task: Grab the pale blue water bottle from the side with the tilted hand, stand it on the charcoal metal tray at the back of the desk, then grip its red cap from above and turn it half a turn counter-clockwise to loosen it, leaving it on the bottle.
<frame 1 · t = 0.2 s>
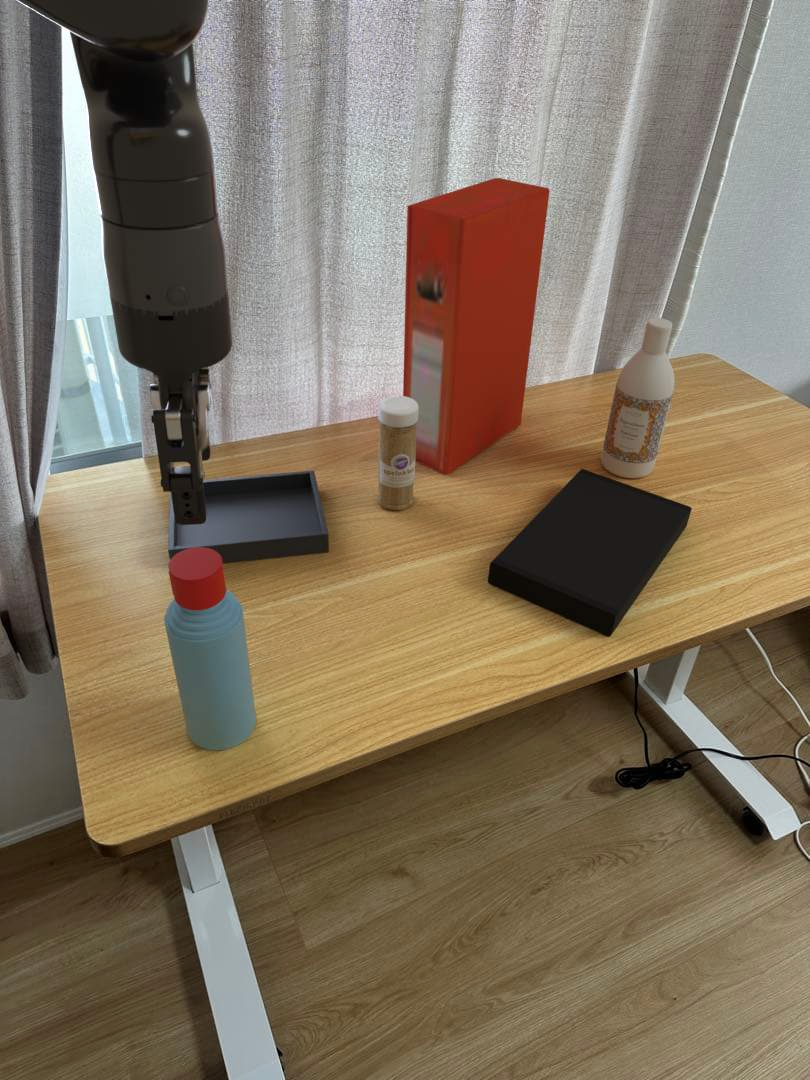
hand: (194, 488, 62), 21 cm above the table, tool pointing down, fingers open, 8 cm apart
file binder: (461, 441, 111), on the table
external hard drive: (591, 555, 92), on the table
bath foam: (626, 467, 107), on the table
cap: (195, 566, 60), point 18 cm above the table, screwed on, not yet turned
sprinkles bottle: (395, 502, 99), on the table
tray: (248, 525, 94), on the table
bottle: (221, 723, 71), on the table
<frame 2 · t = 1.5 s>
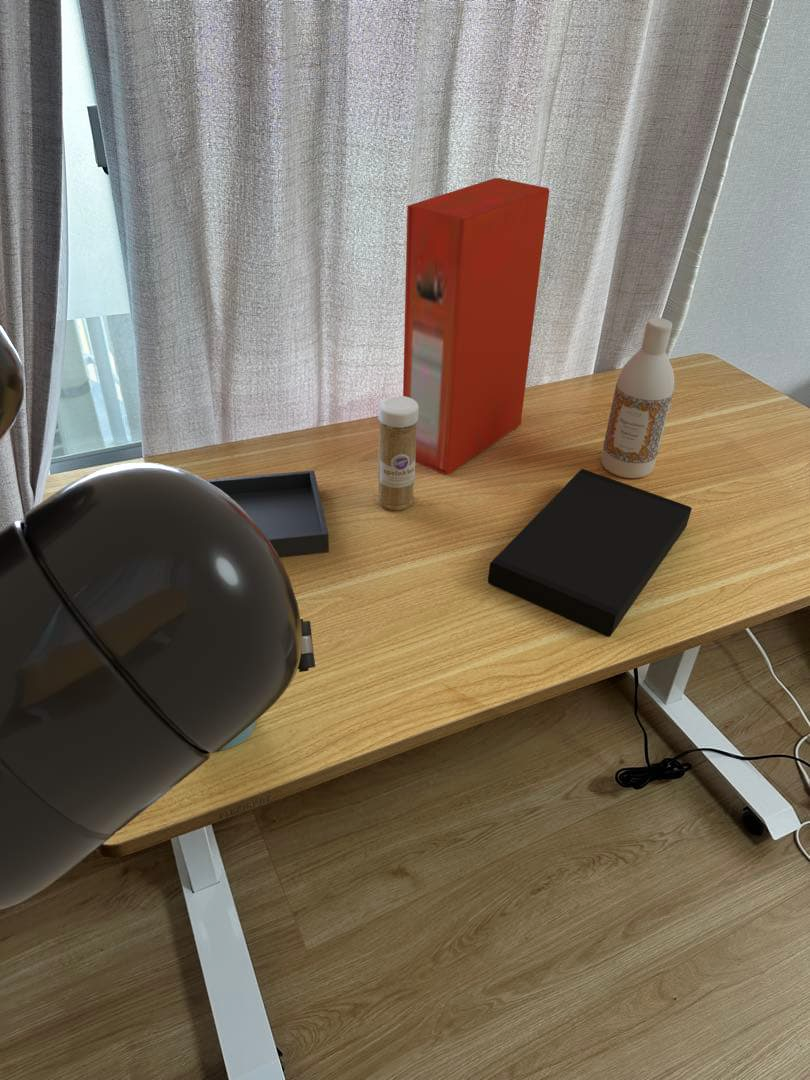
hand: (194, 659, 50), 20 cm above the table, tool tilted 45°, fingers open, 8 cm apart
nothing on the table moved.
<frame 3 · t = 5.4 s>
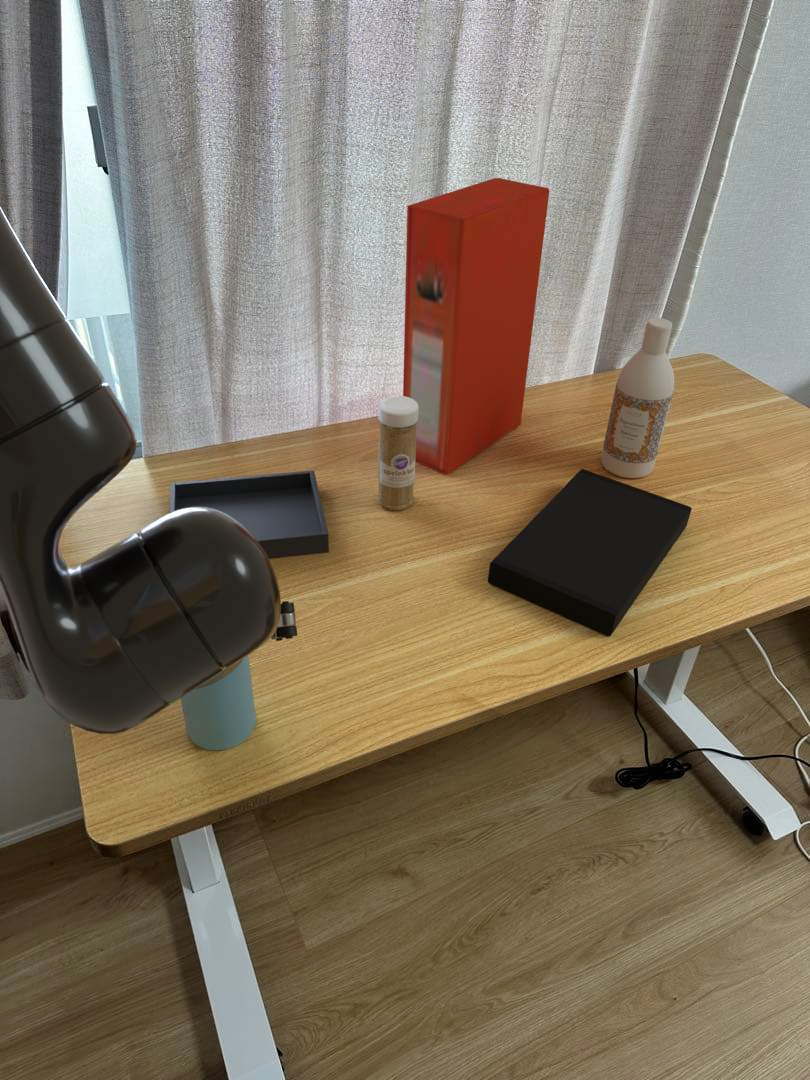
hand: (208, 633, 67), 9 cm above the table, tool tilted 45°, fingers closed on bottle, 6 cm apart
bottle: (221, 723, 71), on the table, touching gripper
everything else where it was.
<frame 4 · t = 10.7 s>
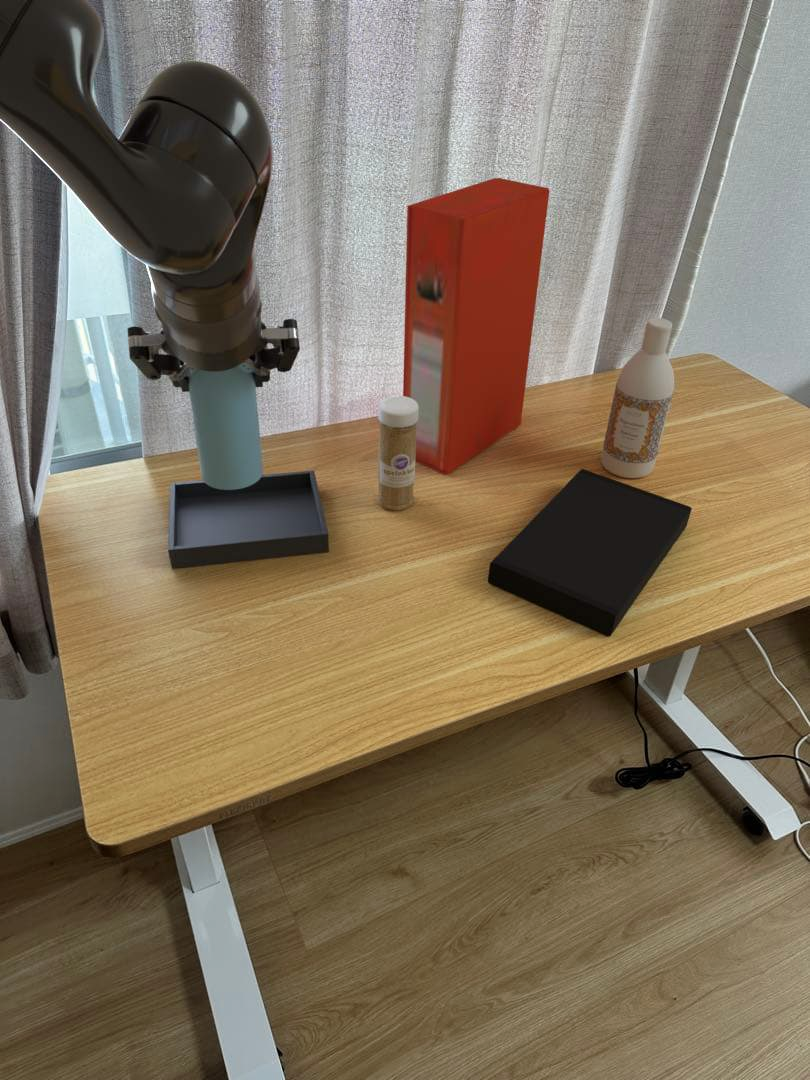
hand: (221, 379, 75), 22 cm above the table, tool tilted 45°, fingers closed on bottle, 6 cm apart
cap: (212, 296, 69), point 31 cm above the table, screwed on, not yet turned
bottle: (232, 473, 80), point 13 cm above the table, touching gripper
everything else where it was.
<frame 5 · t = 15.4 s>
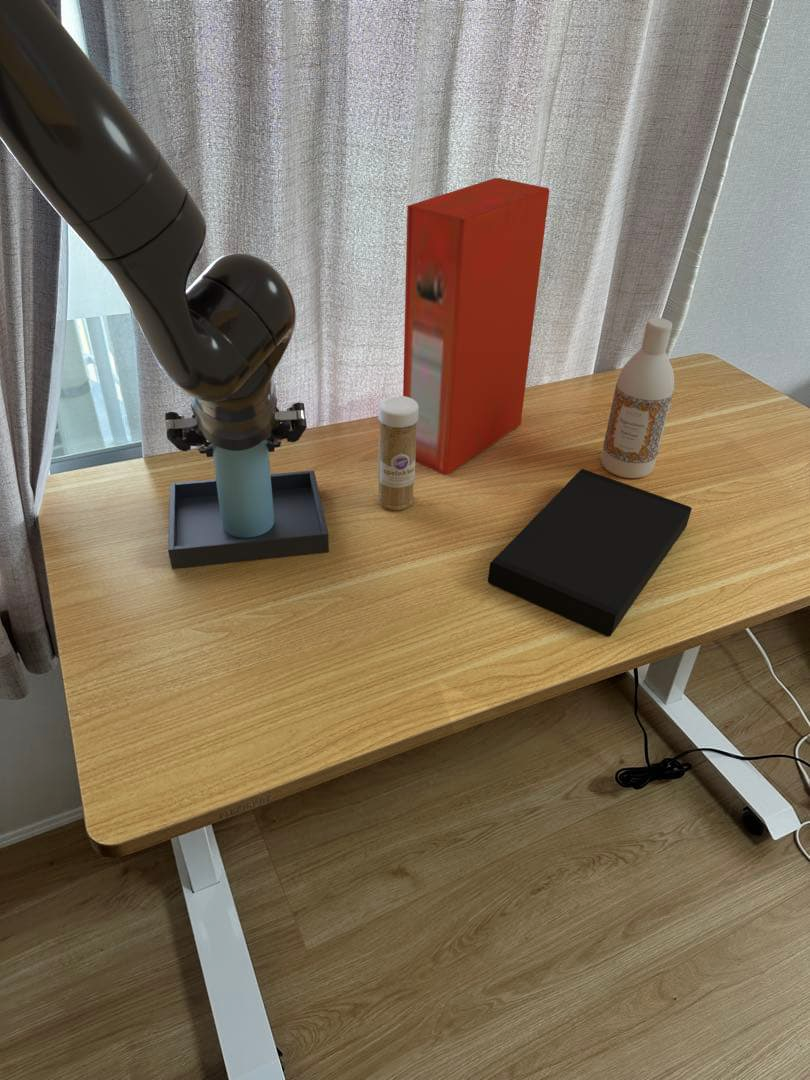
hand: (239, 445, 89), 10 cm above the table, tool tilted 45°, fingers closed on bottle, 6 cm apart
cap: (233, 381, 83), point 19 cm above the table, screwed on, not yet turned
bottle: (248, 522, 94), point 1 cm above the table, touching gripper, tray
everything else where it was.
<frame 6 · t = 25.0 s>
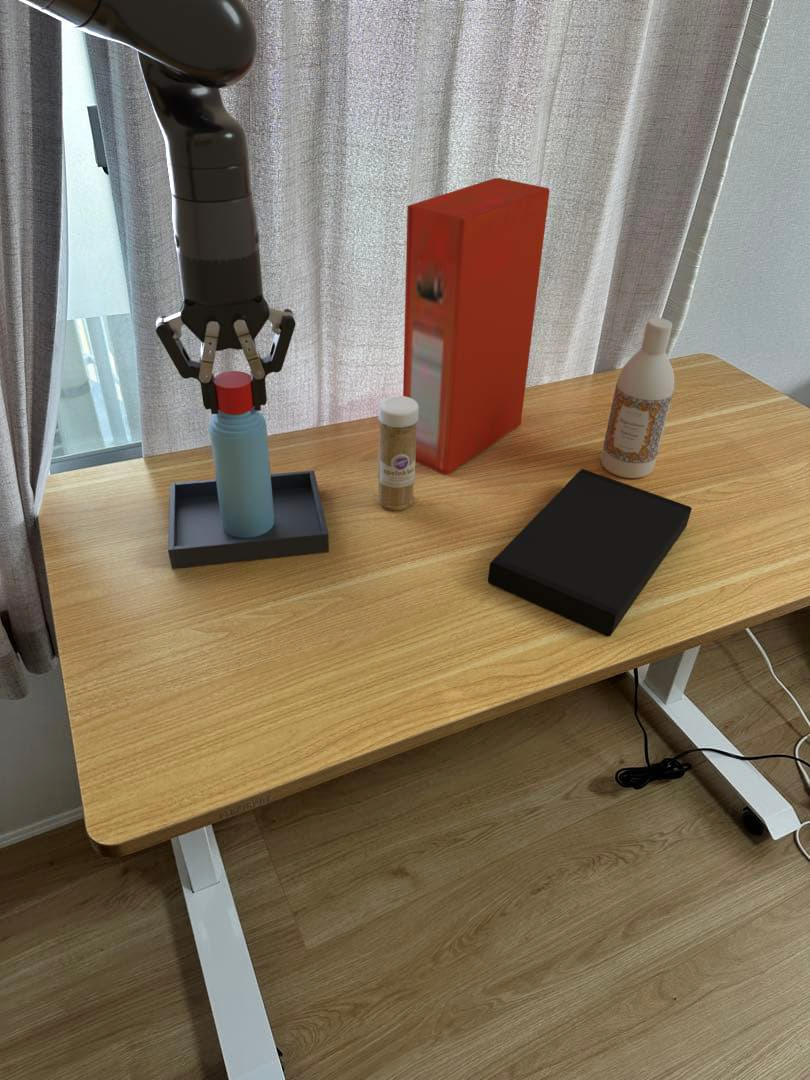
hand: (235, 408, 85), 15 cm above the table, tool pointing down, fingers closed on cap, 3 cm apart
cap: (233, 382, 83), point 18 cm above the table, screwed on, not yet turned, touching gripper
bottle: (248, 522, 94), point 1 cm above the table, touching tray
everything else where it was.
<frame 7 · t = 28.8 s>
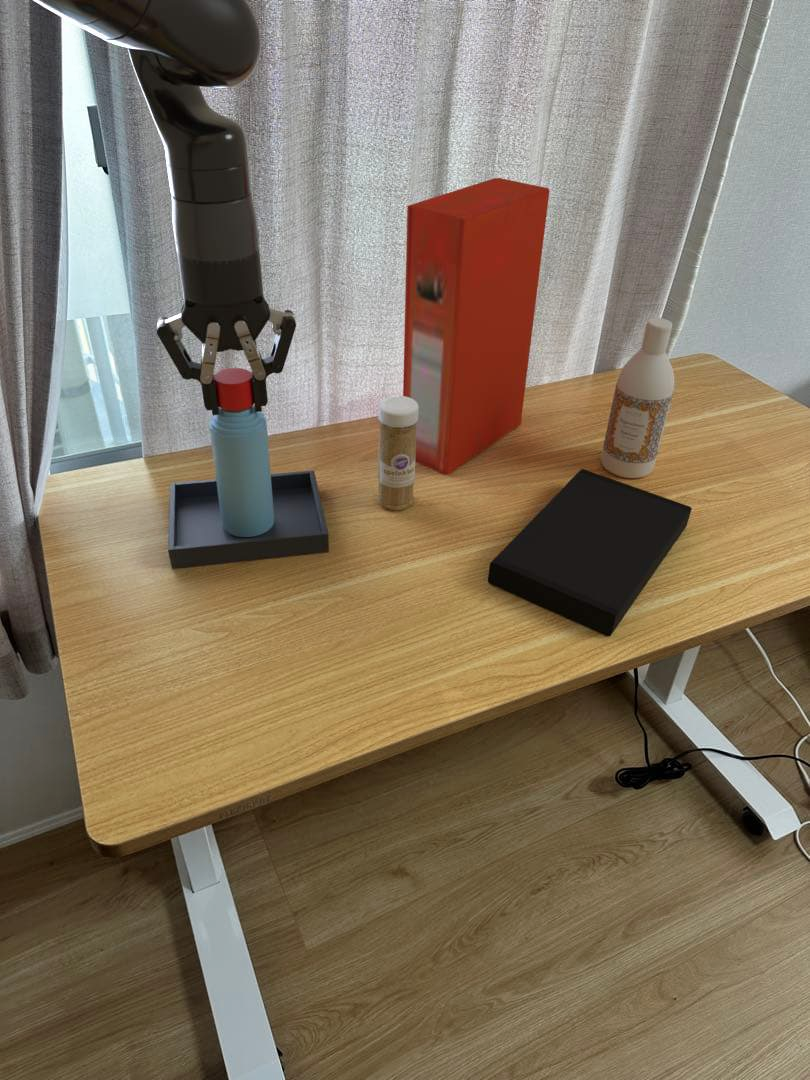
hand: (237, 409, 85), 15 cm above the table, tool pointing down, fingers closed on cap, 3 cm apart
cap: (233, 378, 83), point 19 cm above the table, turned 180° so far, risen 0.2 cm, still on its thread, touching gripper
bottle: (248, 522, 94), point 1 cm above the table, touching gripper, tray
everything else where it was.
when the fingers open (15 cm above the table, at t = 29.8 s): cap stays where it is, point 19 cm above the table.
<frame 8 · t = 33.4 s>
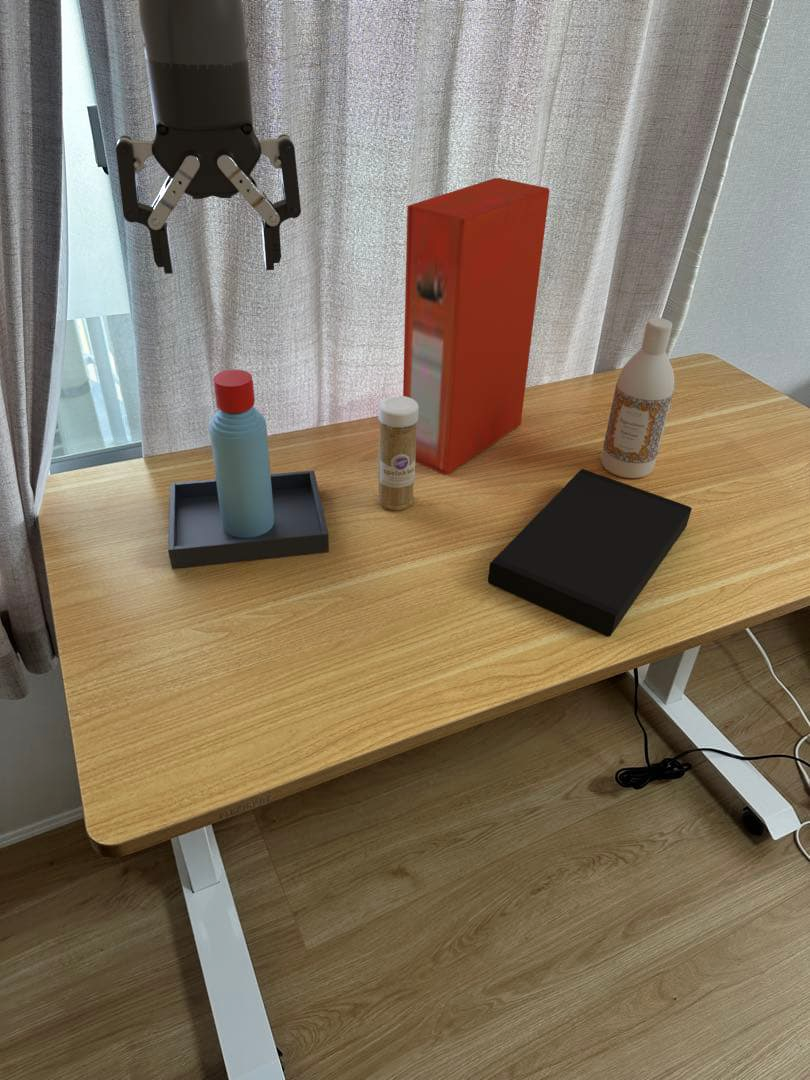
hand: (220, 269, 70), 32 cm above the table, tool pointing down, fingers open, 8 cm apart
cap: (232, 380, 83), point 19 cm above the table, turned 180° so far, risen 0.2 cm, still on its thread
bottle: (248, 522, 94), point 1 cm above the table, touching tray
everything else where it was.
at the end: bottle inside the target area in the tray (0.2 cm from its centre), point 0.6 cm above the tray's base; cap turned 0.50 turns (still on its thread); cap is still on its thread (0.50 turns) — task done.
